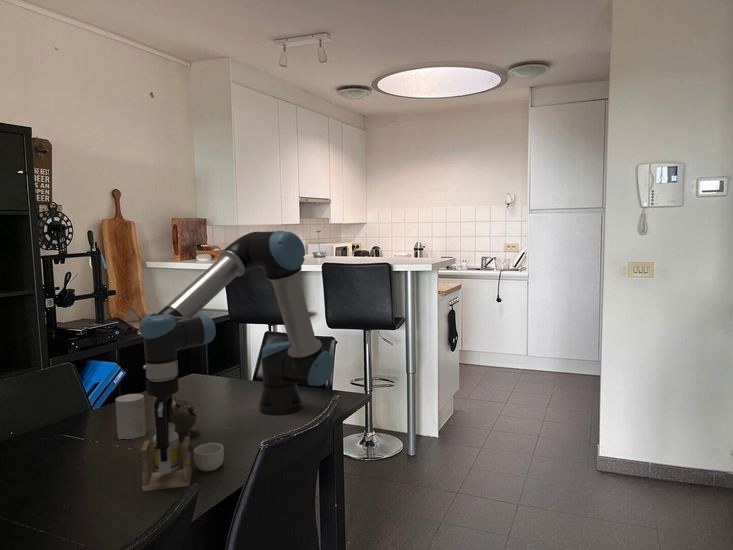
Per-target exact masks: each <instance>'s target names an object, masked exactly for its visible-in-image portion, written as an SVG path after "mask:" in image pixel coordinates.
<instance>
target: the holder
mask: <svg viewBox="0 0 733 550" xmlns="http://www.w3.org/2000/svg"><path fill="white" fill-rule="evenodd" d="M190 438H191V437H190V436H188V437H185V438H184V439H183V442H182V446H181V448H182V466H183V468H182V469H176V470H173V471H171V473H164V474H159V472H158V471H156V472H153V471H152V469H153V468H152V453H151V451H152V450H151V440H144V441H143V445H142V446H141V449H139V450H138V457H139V458H140V460H141V462H140V463H141V476H142V487H141V492H148V491H156V490H158V491H159V490H163V489H164V490H165V489H172V488H181V487H182V488H183V487H189V486H190V484H191V479H192V473H193V468H192V461H191V459H192V456H191V452H194V445H193V444H191V442H190V441H191V440H190Z"/></svg>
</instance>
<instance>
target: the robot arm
mask: <svg viewBox="0 0 733 550" xmlns="http://www.w3.org/2000/svg"><path fill="white" fill-rule="evenodd" d="M305 256H306V248H305V245H304V243H303V241H302V240H301V238H300V237H299V235H297V234H295V233H294V232H292V231H285V230H275V231H273V230H272V231H271V230H270V231H252V232H249V233H247V234H244V235H243V236H240V237H239V238H238V239H236V240H234V241H233V242H231V244H229V245H227V246H226V247H225V249H223V250H222V251H220V253H219V255H218V259H217V260H216V261H215V262H214V263H212V264H211V265H210V266H209V267H208V268H207V269H206V270H205V271H204V272H202V273H201V274H200V275H199V276H198V277H197V278H196V279H195V280H194V281H193V282H191V283H190V284H189V285H188V286H187V287H186V288H184V290H182V291H181V292H180V293H178V295H177V296H176V297H175V298H173V299H172V300H171V301H170V302H169V303H168V304H166V306H164V307H163V308H161V310H160V311H159V312H158V313H156V312H155V313H149V314H146V315H145V316H144V317H142V318H141V320H140V322H139V333H140V335H141V336H142V338H143V347H144V349H143V350H144V362H145V365H143V366H142V369H143V370H145V377H146V379H147V380H146V381H145V384H146V395H148V396H149V397H155V398H156V399H155V402H153V403H154V404H153V409H154V411H153V412H154V418H155V427H156V433H155V435H156V445H157V446H156V447H154V448H155V449H158V459H159V474H164V473H171V458H170V446H169V423H173V413H172V410H173V409H172V403H173V400H174V399H173V395H174V394H176V393H178V392H179V389H180V388H179V377H178V375H179V365H178V351H182V350H185V349H189V348H190V349H191V348H195V347H198V346H204V345H206V344H210V343H211V342H212V341H213V340H214V339H215V336H216V334H217V333H216V332H217V331H216V324H215V322H214V321H213V319H212V318H210V317H209V316H207V315H201V316H199V315H198V316H196V315H197V314H198V313H199V312H201V310H202V309H204V307H206V305H208V304H209V303H210V302H211V301H212V300H213V299H214V298H215V297H216V296H218V294H219V293H220V292H222V290H223V289H224V288H226V286H228V285H230V283H231V282H232V281H233V280H234V279H235V278H236V277H241V276H243V275H244V274H245V273H246V272H248V271H250V270H252V269H262V270H263V273H264V276H265V279H266V280H268V281H270V282H271V283H272V286H273V290H274V293H275V297H276V300H277V304H278V307H279V310H280V315H281V317H282V321H283V324H284V328H285V331H286V335H287V339H288V341H281V342H275V343H274V342H273V343H270V344H267V345H265V346H263V347H262V350H261V367H262V370H261V372H262V386H263V387H262V391H261V394H260V398H259V401H258V402H259V403H258V410H259V412H260V413H263V414H266V415H275V416H277V415H287V414H293V413H295V412H298V411H300V410H301V409H303V399H302V396H301V394H300V391H299V388H298V386H297V384H303V385H308V386H318V387H320V386H323V385H324V384H325V383H327V382H328V381H329V380H330V377H331V376H332V372H334V370H333V369H334V363H335V362H334V361H335V360H334V356H333V355H332V353H331V352H329V351H327V350H324V348H323V347H324V346H323V343H322V342H321V340H320V339H319V338H316V336H315V332H314V327H313V323H312V320H311V317H310V313H309V309H308V305H307V302H306V299H305V298H306V297H305V294H304V290H303V286H302V284H301V280H300V275H299V274H300V272H301V271H302V268H303V267H302V265H303V264H304V263H305ZM175 432H176V431H175Z"/></svg>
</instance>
